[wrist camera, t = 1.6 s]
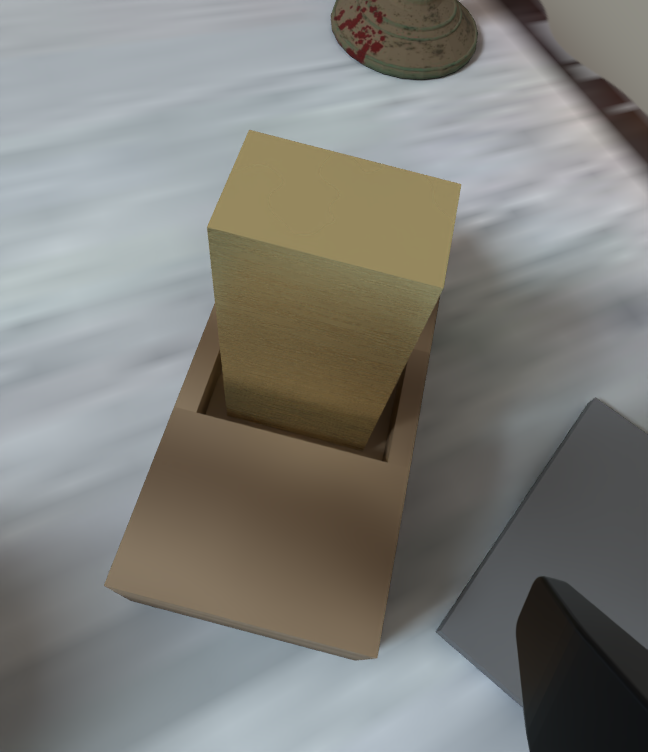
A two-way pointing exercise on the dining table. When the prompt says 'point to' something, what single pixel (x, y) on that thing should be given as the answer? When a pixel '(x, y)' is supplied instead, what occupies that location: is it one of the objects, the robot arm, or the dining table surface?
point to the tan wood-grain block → (323, 283)
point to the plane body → (272, 516)
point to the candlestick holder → (406, 35)
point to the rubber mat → (565, 545)
